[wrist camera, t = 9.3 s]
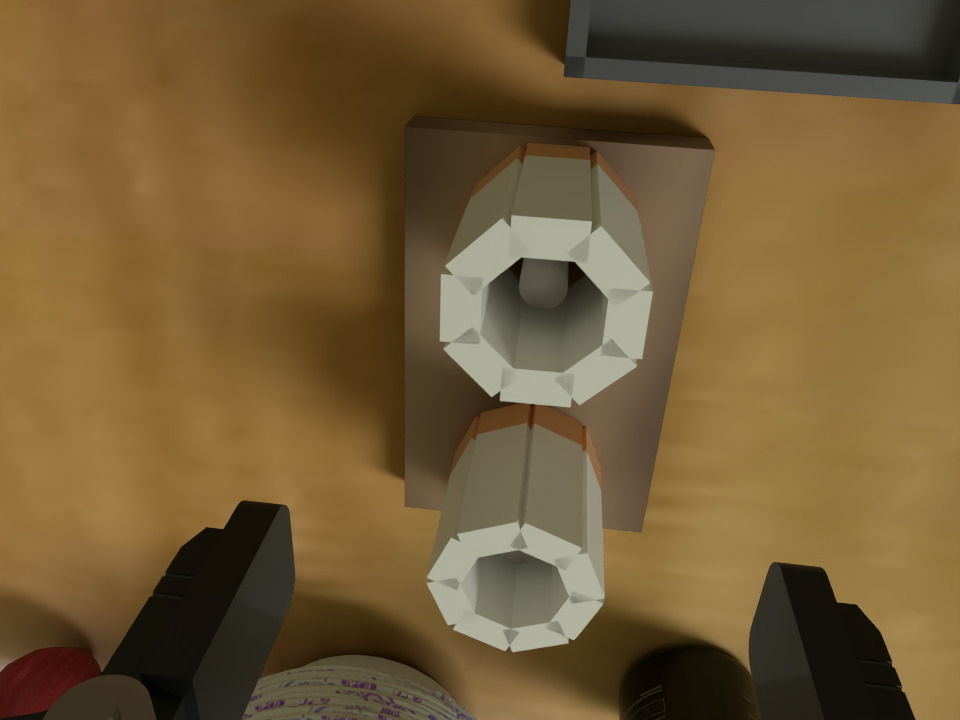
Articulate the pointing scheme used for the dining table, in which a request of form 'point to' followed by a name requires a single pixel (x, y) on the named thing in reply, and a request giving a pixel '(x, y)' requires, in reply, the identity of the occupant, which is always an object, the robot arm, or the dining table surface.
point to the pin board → (545, 299)
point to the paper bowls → (352, 693)
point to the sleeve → (554, 236)
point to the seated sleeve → (521, 531)
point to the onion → (43, 679)
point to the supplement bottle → (688, 687)
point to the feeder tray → (773, 45)
